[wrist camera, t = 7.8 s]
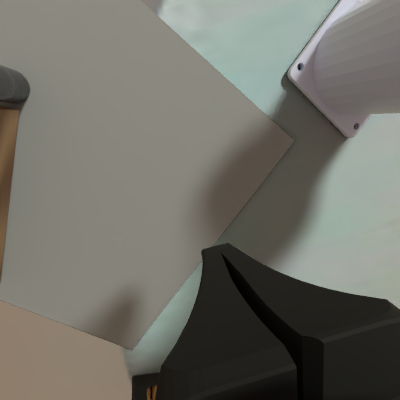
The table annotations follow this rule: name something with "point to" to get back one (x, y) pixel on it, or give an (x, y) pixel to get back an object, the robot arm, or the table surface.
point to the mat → (119, 163)
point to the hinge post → (13, 86)
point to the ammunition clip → (144, 386)
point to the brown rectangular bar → (6, 167)
